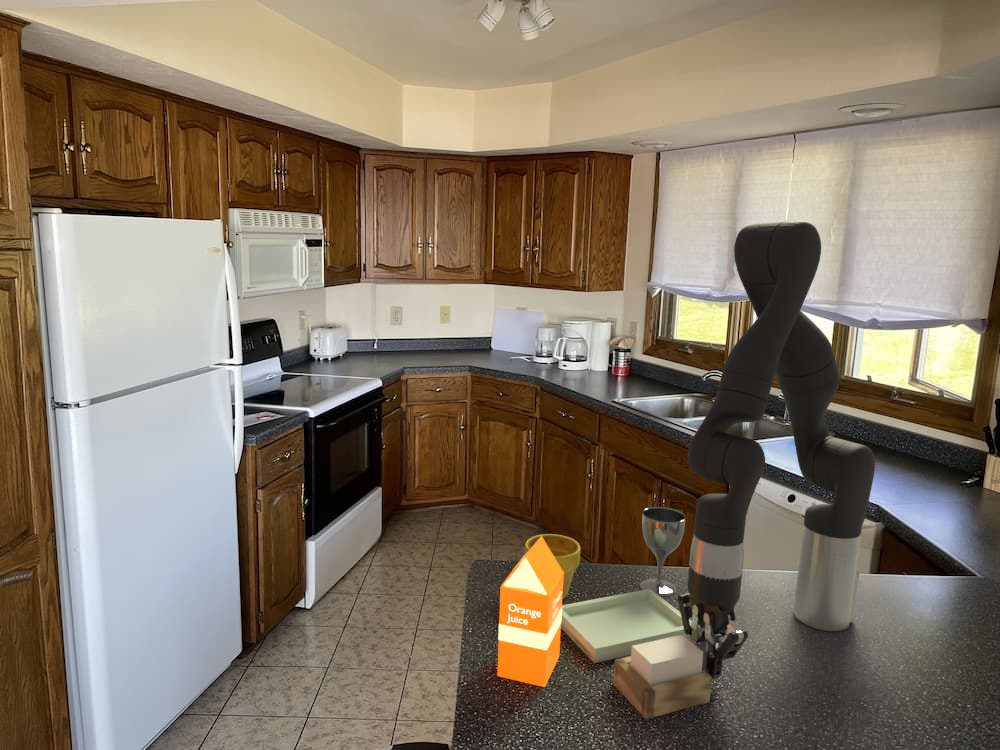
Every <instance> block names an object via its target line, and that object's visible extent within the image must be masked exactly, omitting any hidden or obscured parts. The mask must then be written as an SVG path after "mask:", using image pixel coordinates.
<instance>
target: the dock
mask: <svg viewBox="0 0 1000 750" xmlns="http://www.w3.org/2000/svg"><path fill="white" fill-rule="evenodd" d="M630 664H631V655H628V656H624V657H620V658H615V659H614V667H613V680H612V681H613V682H612V684H613V686H614V687H615V688H616V689H617V690H618V691H619V692H620V693H621V694H622V695H623V696H624V697H625V699H626V700H628V702H629V703H631V705H632V706H633V707H634V708H635V709H636V710H637V711H638V712H639V714H641V715H642V716H643V718H645V720H649V719H652V718H656V717H660V716H663V715H667V714H670V713H674V712H677V711H680V710H684V709H688V708H689V709H690V708H692V707H696V706H699V705H704V704H706V703H710V702H711V701H710V700H711V689H712V683H713V682H712V681H713V679H712V677H711V676H710V675H709V674H708V673H707V672H706V671H705V672H706V673H705V672H703V673H702V672H701V674H698V675H694V676H690V677H686V678H682V679H678V680H674V681H670V682H666V683H662V684H658V685H654V686H649V685H648V684H647V683H646V682H645V681H644V680H643V679H642V678H641V677H640V676H639V675H638V674H637V673H636V672H635V671H634V670H633V669H632V668H631V667H630Z"/></svg>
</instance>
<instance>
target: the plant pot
mask: <svg viewBox="0 0 1000 750" xmlns="http://www.w3.org/2000/svg"><path fill="white" fill-rule="evenodd" d="M541 536H542V537H543V539H544V541H545V542H546V544H547V546H548V547H549V549H550V551H551V552H552V554H553V556H554V557H555V559H556V561H557V562H558V564H559V566H560V568H561V569H562V571H563V572H564V576H563V595H562V600H564V599H565V598H567V596H568V594H569V591H570V588H571V584H572V580H573V577H574V573H575V570H576V569H577V568H578V567H579V565H580V561H581V560H580V559H581V549H582V548H581V546H580V543H579V542H578V541H576V540H575V539H574V538H572V537H569V536H565V535H561V534H554V533H553V534H552V533H544V534H537V535H534V536H531V537H530V538H528V539H527V540H526V542H525V543H524V556H525V555H526V553H527V552H528V551H529V550H530V549H531V548H532V546H533V545H534V544H535V543H536V542H537V541H538V539H539V538H540V537H541Z"/></svg>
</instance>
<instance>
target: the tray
mask: <svg viewBox="0 0 1000 750" xmlns="http://www.w3.org/2000/svg"><path fill="white" fill-rule="evenodd" d="M691 621H692V619H690V618H689V622H690V626H691ZM561 630H562V631H563V632H564V633H565V634H566V636H567V637H569V638H570V639H571V640H572V642H573V643H574V644H575V645H577V646H578V648H579V649H580V650H581V651H582V652H583V653H584V654H585V655H586V656H587V657H588V658H589V659H590V660H591V662H592V663H594V664H597V663H602V662H606V661H611V660H616V659H620V658H625V657H629V656H631V650H632V646H633V645H637V644H642V643H647V642H651V641H656V640H660V639H665V638H669V637H674V636H678V635H683V636H684V637H685V638H687V639H688V640H689V641H690V642H691V636H690V635H686V634H685V632H684V627H683V622H682V618H681V613H680V610H678V609H676V607H674V606H673V605H671V604H670V603H669V602H668V601H666V599H664V598H662V596H659V595H657V594H656V593H655V592H653V591H652V590H651V589H646V590H642V589H641V590H636V591H631V592H626V593H621V594H619V593H618V594H615V595H610V596H606V597H605V596H604V597H599V598H598V597H597V598H595V599H588V600H583V601H578V602H574V603H573V602H572V603H567V604H562V620H561Z"/></svg>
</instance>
